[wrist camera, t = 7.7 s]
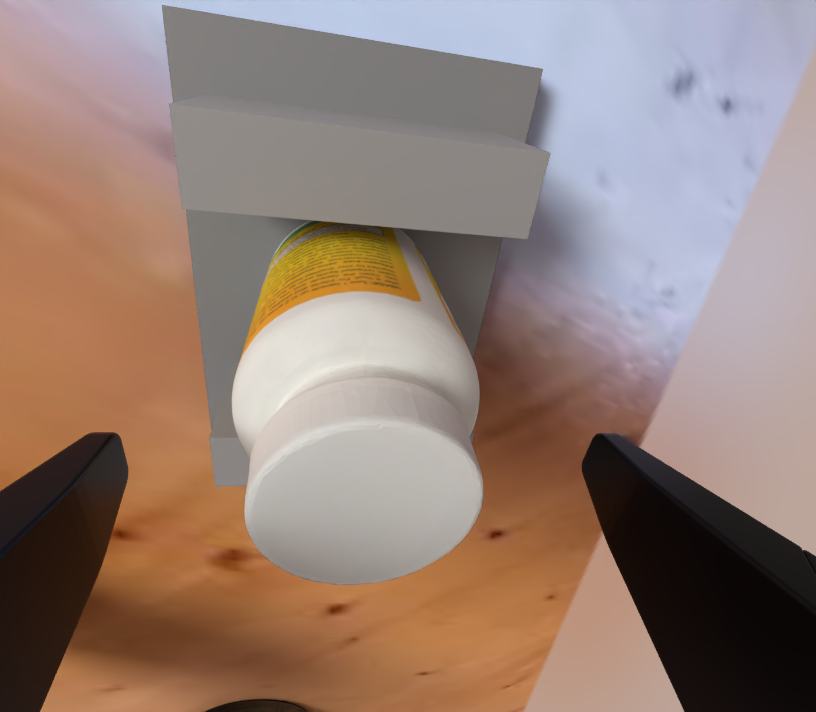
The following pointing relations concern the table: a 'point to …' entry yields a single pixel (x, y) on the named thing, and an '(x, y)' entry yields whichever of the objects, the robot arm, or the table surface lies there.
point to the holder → (337, 168)
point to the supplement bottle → (356, 410)
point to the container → (258, 707)
